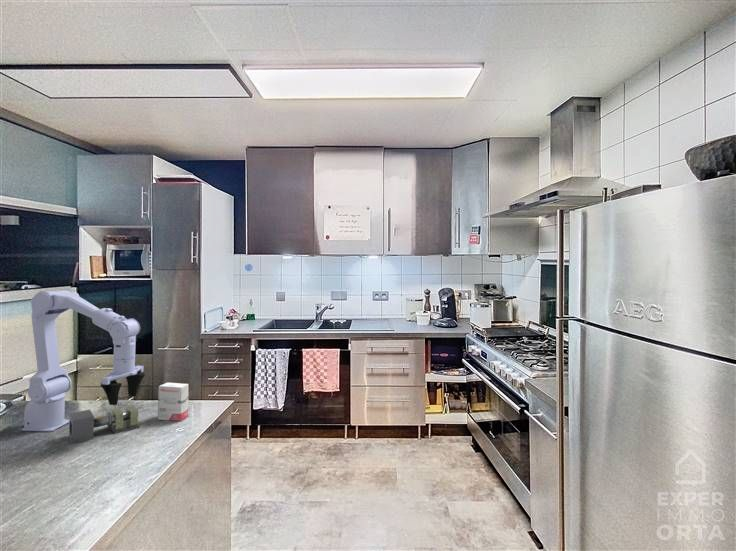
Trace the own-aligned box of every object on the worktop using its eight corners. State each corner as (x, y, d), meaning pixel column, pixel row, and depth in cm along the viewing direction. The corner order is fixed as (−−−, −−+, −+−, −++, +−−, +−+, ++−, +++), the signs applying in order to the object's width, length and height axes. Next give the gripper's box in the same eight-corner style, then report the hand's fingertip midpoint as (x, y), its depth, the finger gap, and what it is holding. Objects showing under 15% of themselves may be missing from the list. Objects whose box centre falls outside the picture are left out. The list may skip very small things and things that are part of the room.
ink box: (189, 416, 128) (190, 383, 127) (180, 421, 123) (181, 387, 122) (166, 414, 128) (167, 381, 128) (156, 419, 124) (157, 385, 123)
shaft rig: (90, 440, 108) (90, 420, 108) (85, 431, 113) (86, 412, 113) (140, 427, 117) (140, 409, 117) (133, 419, 123) (134, 402, 123)
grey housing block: (72, 443, 105) (72, 420, 105) (68, 435, 110) (69, 413, 110) (93, 438, 109) (93, 416, 109) (89, 430, 114) (89, 409, 114)
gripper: (117, 364, 106) (115, 409, 106) (152, 353, 121) (151, 393, 121) (95, 362, 107) (94, 407, 107) (133, 351, 122) (132, 391, 122)
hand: (123, 400), depth 114 cm, fingers open, 7 cm apart
